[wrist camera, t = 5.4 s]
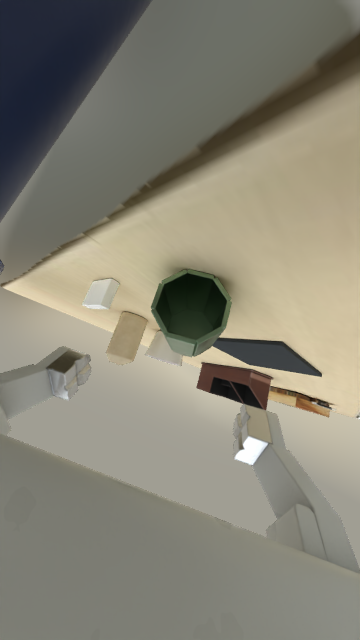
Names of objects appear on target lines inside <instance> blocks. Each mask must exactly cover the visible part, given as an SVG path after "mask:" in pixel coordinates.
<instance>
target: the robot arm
mask: <svg viewBox="0 0 360 640" xmlns="http://www.w3.org/2000/svg"><path fill="white" fill-rule="evenodd" d="M90 360H91V359H90V355H88V354H85V353H82V352H79V351H76V350H73V349H70V348H67V347H64V346H62V347H59V348H58V349H57V350H55V351H54V352H52V353H51V354H50V355H48V356H47V357H46V358H44V359H43V360H42V361H40V362H39V363H38V364H36V365H34V364H32V365H28V366H25V367H21V368H18V369H14V370H11V371H8V372H4V373H0V640H360V569H359V566H358V563H357V561H356V558H355V555H354V553H353V550H352V547H351V545H350V542H349V539H348V536H347V534H346V531H345V528H344V526H343V523H342V520H341V518H340V517H339V515H338V514H337V513H336V511H335V510H334V509H333V507H332V506H331V505H330V503H329V502H328V501H327V499H326V498H325V497H324V495H323V494H322V493H321V491H320V490H319V489H318V488H317V486H316V485H315V484H314V482H313V481H312V480H311V478H310V477H309V476H308V474H307V473H306V472H305V471H304V469H303V468H302V466H301V465H300V464H299V462H298V461H297V460H296V458H295V457H294V456H293V454H292V453H291V452H290V451H289V450H287V449H286V447H285V443H284V439H283V435H282V431H281V427H280V423H279V419H278V416H277V414H275V413H272V412H269V411H266V410H263V409H259V408H256V407H253V406H250V405H246V404H243V405H242V407H241V410H240V411H241V413H239V414H238V415H237V416H236V418H235V422H234V428H233V432H234V433H233V434H234V436H235V438H236V440H235V442H234V459H236V460H238V461H241V462H244V463H246V464H249V465H251V466H253V469H254V471H255V473H256V476H257V478H258V480H259V482H260V484H261V486H262V488H263V490H264V492H265V495H266V497H267V499H268V501H269V503H270V505H271V507H272V509H273V511H274V513H275V515H276V518H277V520H276V521H275V522H274V523H273V524H272V525H271V526H269V527H268V528H267V529H266V533H267V537H264V536H262V535H259V534H256V533H254V532H251V531H249V530H246V529H244V528H241V527H239V526H236V525H233V524H231V523H228V522H226V521H223V520H221V519H218V518H216V517H213V516H210V515H208V514H205V513H203V512H200V511H198V510H195V509H193V508H190V507H188V506H185V505H182V504H180V503H177V502H175V501H172V500H170V499H167V498H164V497H162V496H159V495H157V494H154V493H152V492H149V491H147V490H144V489H141V488H139V487H136V486H134V485H131V484H129V483H126V482H123V481H121V480H118V479H116V478H113V477H111V476H108V475H105V474H103V473H101V472H98V471H95V470H93V469H90V468H88V467H85V466H83V465H80V464H77V463H75V462H72V461H70V460H67V459H65V458H62V457H60V456H57V455H54V454H52V453H49V452H47V451H44V450H42V449H39V448H37V447H34V446H31V445H29V444H26V443H24V442H21V441H19V440H16V439H13V438H11V437H8V436H6V435H7V434H8V433H9V432H10V431H11V426H10V424H9V422H8V419H10V418H12V417H14V416H16V415H18V414H20V413H22V412H24V411H26V410H28V409H30V408H32V407H34V406H36V405H38V404H40V403H42V402H44V401H46V400H48V399H49V398H51V397H53V396H56V397H59V398H62V399H65V400H70V399H71V398H72V396H73V395H74V394H75V393H76V392H77V391H78V386H80V385H82V384H84V383H85V382H86V381H87V380H88V377H89V376H90V373H91V366H90V365H89V362H90Z"/></svg>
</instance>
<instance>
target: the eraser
mask: <svg viewBox="0 0 360 640" xmlns="http://www.w3.org/2000/svg"><path fill="white" fill-rule="evenodd" d="M119 284H120V283H118V282H117V281H115V280H114V279H112V278H111V279H104V280H97V281H93V282H92V284H91V286H90V288H89V291H88V293H87V295H86V297H85V299H84V301H83V303H82V305H84V306H86V307H88V308H90V309H109V308H110V305H111V303H112V301H113V298H114V296H115V294H116V291H117V289H118V287H119Z"/></svg>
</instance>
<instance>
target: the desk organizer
mask: <svg viewBox="0 0 360 640" xmlns="http://www.w3.org/2000/svg"><path fill="white" fill-rule="evenodd" d="M201 364H202V368H201V372H200V376H199V380H198V384H197V388H198V389H201V390H203V391H206V392H209V393H212V394H215V395H219V396H223V397H226V398H229V399H231V400H234V401H237V402H240V403H242V404H246V405H250V406H253V407H256V408H259V409H263V410H266V407H267V401H268V395H269V389H270V382H271V379H273V378H272V377H269V376H266V375H264V374H261V373H259V372H256V371H254V370H251V369H243V368H236V367H229V366H222V365H215V364H208V363H201Z"/></svg>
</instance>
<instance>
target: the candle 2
mask: <svg viewBox="0 0 360 640" xmlns="http://www.w3.org/2000/svg"><path fill="white" fill-rule="evenodd" d="M145 355H146V356H149V357H151V358H154V359H157V360H160V361H164V362H167V363H170V364H174V365H178V366H182V357H183V355H181V354H179V353H176V352H173V350H171V348H170V346H169V344H168V342H167V340H166V339H165V337H164V335H163V333H162V331H158V332H157V333H156V335H155V337H154V339H153V340H152V342H151V344H150V346H149V348H148V350H147V351H146V353H145Z"/></svg>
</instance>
